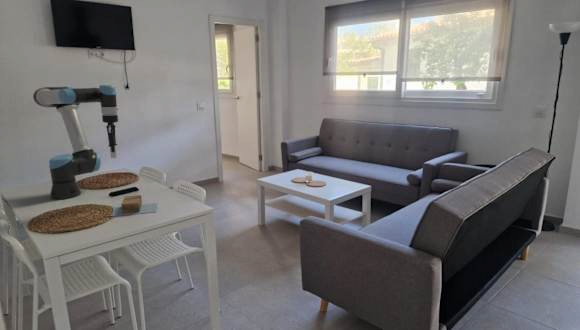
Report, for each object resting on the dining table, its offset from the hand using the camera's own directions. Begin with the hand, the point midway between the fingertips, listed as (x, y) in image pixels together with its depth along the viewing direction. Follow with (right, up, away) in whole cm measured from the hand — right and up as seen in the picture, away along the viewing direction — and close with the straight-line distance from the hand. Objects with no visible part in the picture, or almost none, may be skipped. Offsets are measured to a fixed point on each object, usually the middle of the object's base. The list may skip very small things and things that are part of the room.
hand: (113, 157), depth 199 cm
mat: (+16, -27, -13) cm, 34 cm away
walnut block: (+13, -23, -6) cm, 27 cm away
